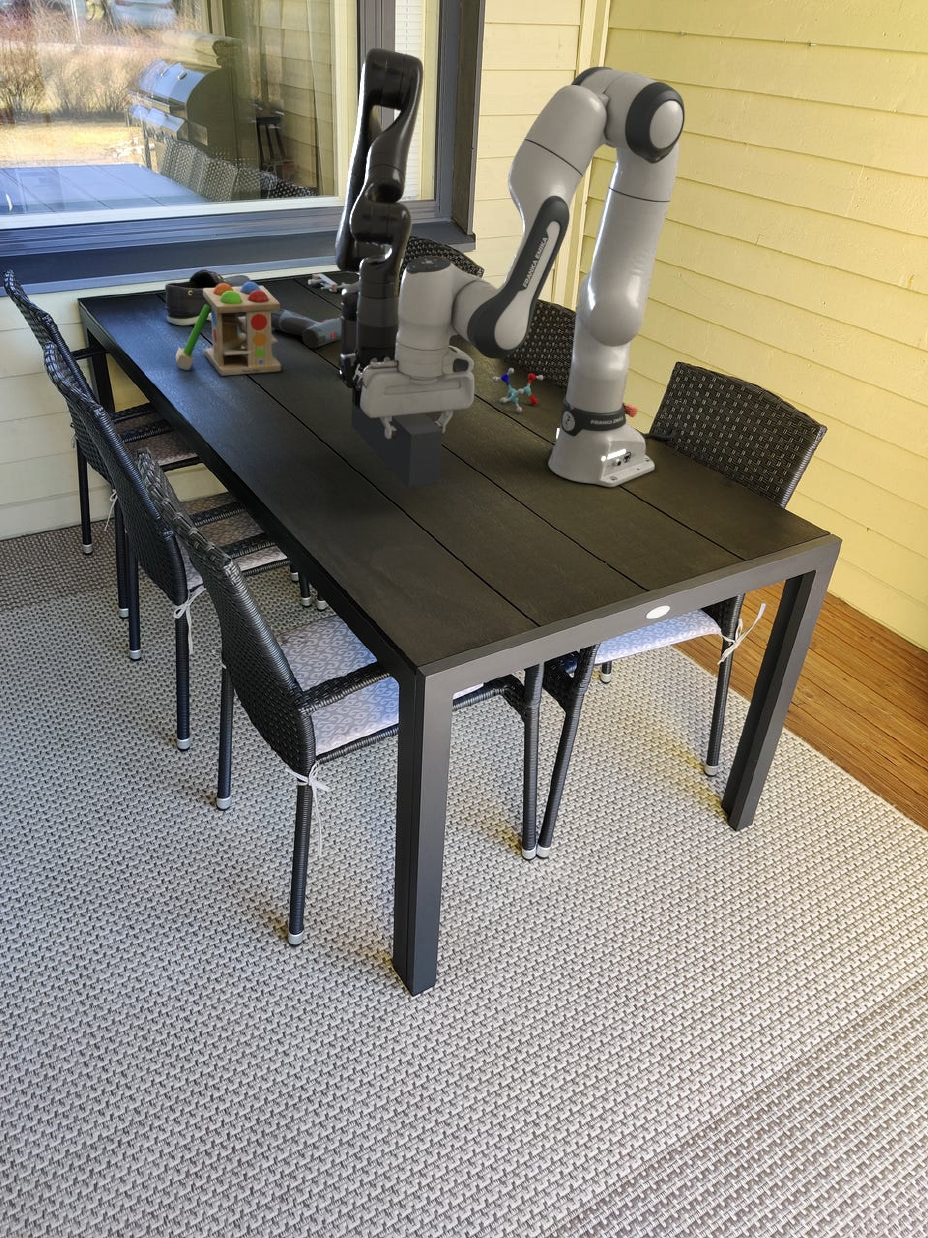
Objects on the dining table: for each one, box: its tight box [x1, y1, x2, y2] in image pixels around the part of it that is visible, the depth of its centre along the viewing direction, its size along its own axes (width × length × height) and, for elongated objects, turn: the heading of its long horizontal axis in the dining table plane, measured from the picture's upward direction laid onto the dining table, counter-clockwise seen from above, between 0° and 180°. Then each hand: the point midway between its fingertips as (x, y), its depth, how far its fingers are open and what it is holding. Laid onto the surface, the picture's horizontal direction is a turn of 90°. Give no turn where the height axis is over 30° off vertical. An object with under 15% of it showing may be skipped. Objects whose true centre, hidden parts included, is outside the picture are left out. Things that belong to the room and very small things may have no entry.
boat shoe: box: [164, 269, 253, 326], centre depth 260 cm, size 13×33×10 cm, turn 147°
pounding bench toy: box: [174, 281, 282, 377], centre depth 225 cm, size 23×14×18 cm, turn 116°
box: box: [351, 377, 444, 488], centre depth 181 cm, size 27×6×10 cm, turn 27°
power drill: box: [271, 308, 341, 349], centre depth 252 cm, size 5×19×20 cm
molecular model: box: [492, 367, 544, 413], centre depth 223 cm, size 12×10×10 cm
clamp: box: [307, 273, 350, 293], centre depth 287 cm, size 15×2×10 cm
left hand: (374, 404), depth 188 cm, fingers closed on box, 6 cm apart
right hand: (414, 434), depth 172 cm, fingers open, 8 cm apart
